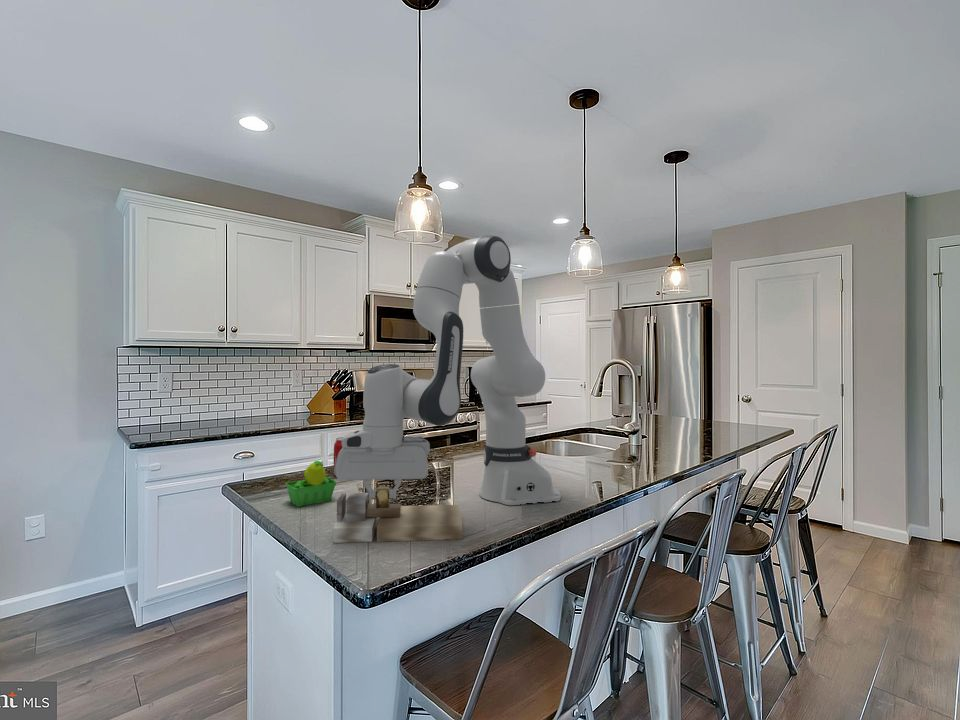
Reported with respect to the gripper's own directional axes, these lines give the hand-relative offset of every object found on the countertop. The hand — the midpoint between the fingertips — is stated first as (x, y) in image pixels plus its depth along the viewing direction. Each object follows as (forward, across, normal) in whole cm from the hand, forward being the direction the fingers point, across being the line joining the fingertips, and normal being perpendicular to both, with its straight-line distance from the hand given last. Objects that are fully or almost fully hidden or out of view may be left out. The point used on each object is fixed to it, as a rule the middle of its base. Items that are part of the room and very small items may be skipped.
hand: (382, 498), depth 109 cm
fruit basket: (+7, +20, -22) cm, 31 cm away
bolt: (+4, +2, 0) cm, 4 cm away
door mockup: (+7, -4, 0) cm, 8 cm away
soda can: (+7, +17, -49) cm, 52 cm away
